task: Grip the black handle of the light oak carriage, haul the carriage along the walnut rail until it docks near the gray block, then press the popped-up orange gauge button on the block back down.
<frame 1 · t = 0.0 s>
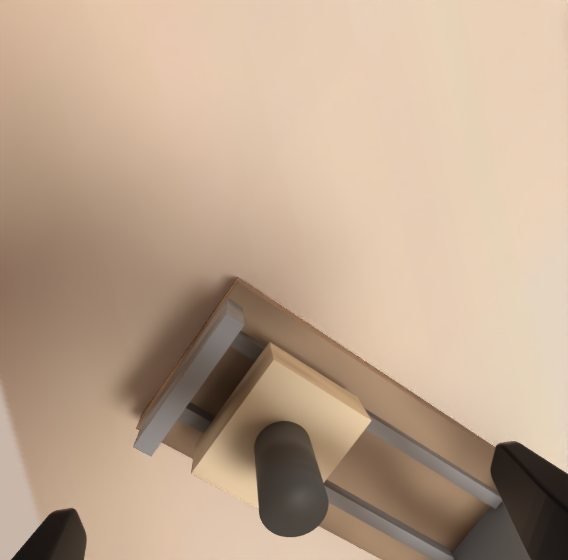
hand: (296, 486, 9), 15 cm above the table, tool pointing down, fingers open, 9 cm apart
rail track: (337, 436, 26), on the table
gray block: (491, 528, 29), on the table
carriage: (284, 457, 20), point 6 cm above the table, slide at 0.0 cm
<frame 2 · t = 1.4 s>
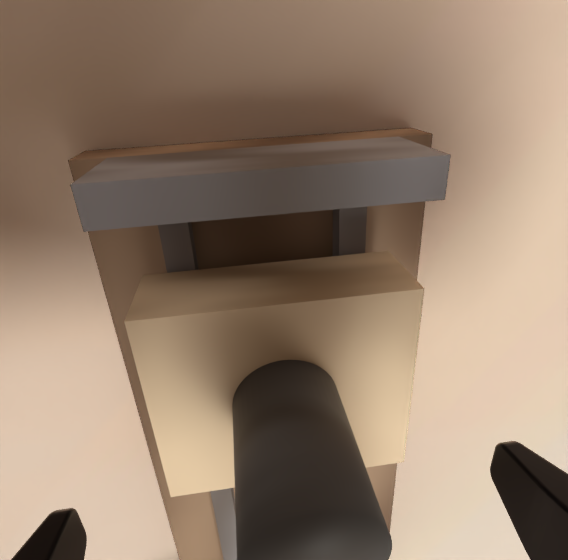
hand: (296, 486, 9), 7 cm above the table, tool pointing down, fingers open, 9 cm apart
rail track: (275, 408, 18), on the table
carriage: (290, 425, 10), point 6 cm above the table, slide at 0.0 cm
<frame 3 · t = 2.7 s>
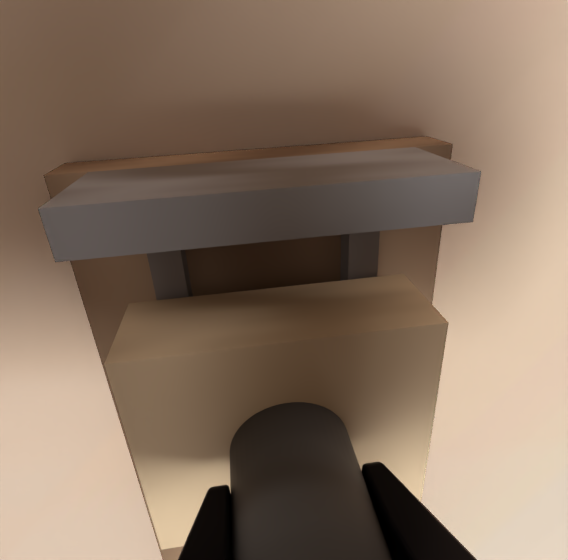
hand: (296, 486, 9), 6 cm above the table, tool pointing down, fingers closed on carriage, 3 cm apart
rail track: (276, 436, 16), on the table
carriage: (295, 477, 9), point 6 cm above the table, slide at 0.0 cm, touching gripper
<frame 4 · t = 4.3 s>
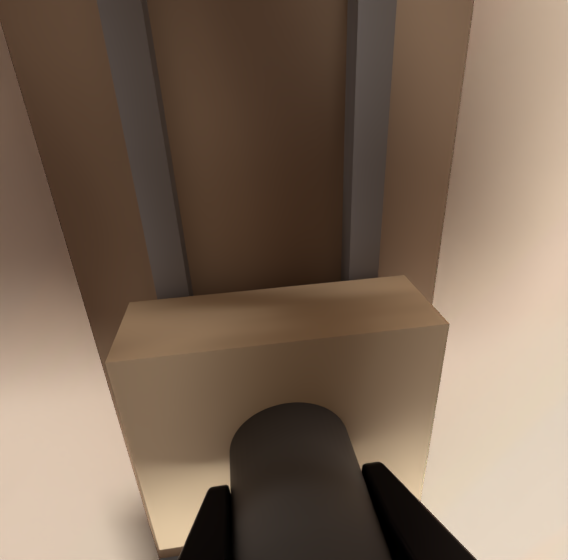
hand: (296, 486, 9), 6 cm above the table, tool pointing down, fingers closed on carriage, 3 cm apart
rail track: (264, 281, 13), on the table
carriage: (295, 477, 9), point 6 cm above the table, slide at 6.9 cm, touching gripper
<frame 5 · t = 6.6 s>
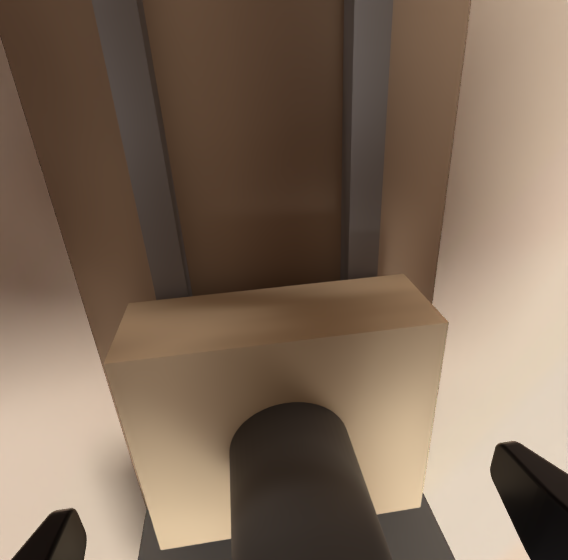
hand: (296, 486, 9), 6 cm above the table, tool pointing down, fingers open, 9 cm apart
rail track: (256, 186, 12), on the table
gray block: (281, 503, 18), on the table
carriage: (295, 477, 9), point 6 cm above the table, slide at 10.0 cm
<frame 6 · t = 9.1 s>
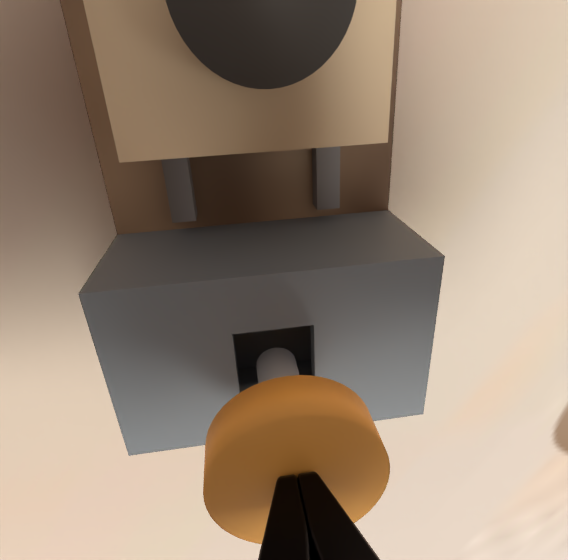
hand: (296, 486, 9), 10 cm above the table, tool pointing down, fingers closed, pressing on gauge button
gauge button: (285, 414, 11), point 8 cm above the table, slide at 0.2 cm, touching gripper
gray block: (259, 277, 18), on the table
carriage: (249, 11, 9), point 6 cm above the table, slide at 10.0 cm
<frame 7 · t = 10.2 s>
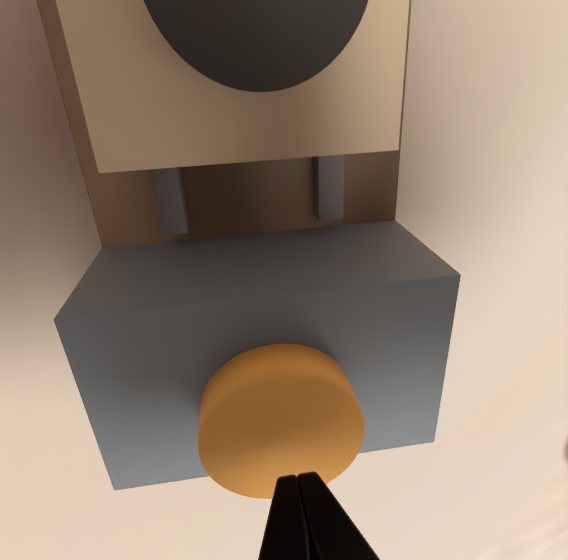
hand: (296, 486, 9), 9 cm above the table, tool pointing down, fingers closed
gauge button: (273, 383, 12), point 6 cm above the table, slide at 2.7 cm
gray block: (257, 290, 17), on the table
carriage: (243, 2, 8), point 6 cm above the table, slide at 10.0 cm
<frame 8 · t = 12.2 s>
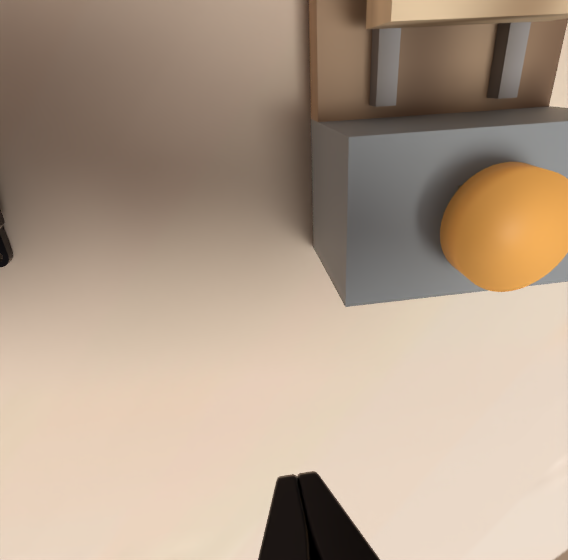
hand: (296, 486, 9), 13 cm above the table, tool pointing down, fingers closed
gauge button: (481, 214, 15), point 6 cm above the table, slide at 2.7 cm
gray block: (414, 178, 20), on the table
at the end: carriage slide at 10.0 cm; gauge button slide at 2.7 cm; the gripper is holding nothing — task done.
